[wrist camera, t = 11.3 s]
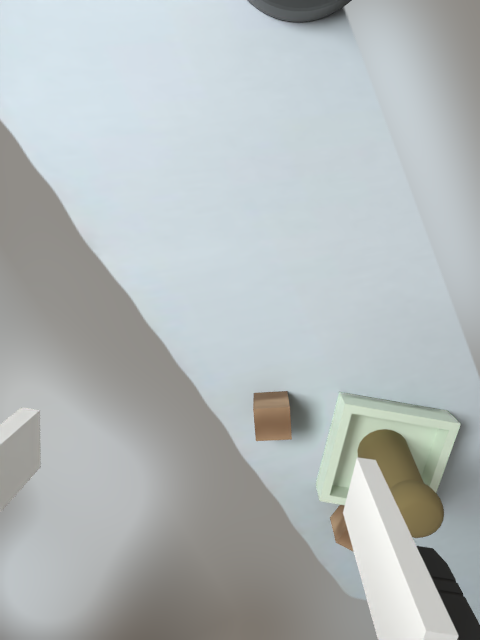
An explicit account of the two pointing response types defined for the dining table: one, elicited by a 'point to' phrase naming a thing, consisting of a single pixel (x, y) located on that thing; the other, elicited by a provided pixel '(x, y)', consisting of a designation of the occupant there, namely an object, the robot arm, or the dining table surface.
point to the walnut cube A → (272, 416)
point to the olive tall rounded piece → (404, 481)
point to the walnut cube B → (340, 528)
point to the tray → (376, 414)
